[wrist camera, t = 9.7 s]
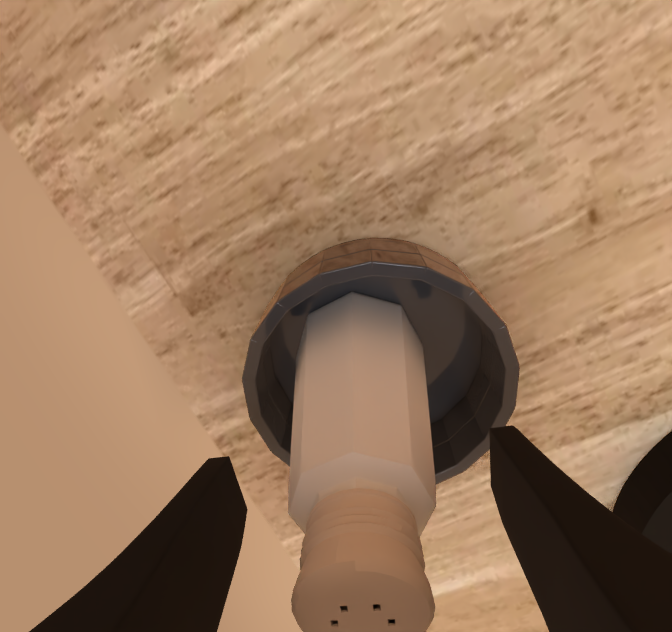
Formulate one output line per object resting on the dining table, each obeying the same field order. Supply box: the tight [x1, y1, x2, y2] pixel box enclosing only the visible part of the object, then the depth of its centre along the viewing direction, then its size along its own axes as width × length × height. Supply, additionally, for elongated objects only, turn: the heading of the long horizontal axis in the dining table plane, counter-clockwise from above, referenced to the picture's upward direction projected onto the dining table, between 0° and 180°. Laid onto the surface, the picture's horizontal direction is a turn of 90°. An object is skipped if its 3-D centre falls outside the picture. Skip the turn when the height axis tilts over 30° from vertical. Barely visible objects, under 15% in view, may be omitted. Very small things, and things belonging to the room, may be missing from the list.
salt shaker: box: [288, 292, 436, 632], centre depth 13 cm, size 5×5×11 cm
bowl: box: [242, 238, 520, 484], centre depth 17 cm, size 10×10×4 cm
